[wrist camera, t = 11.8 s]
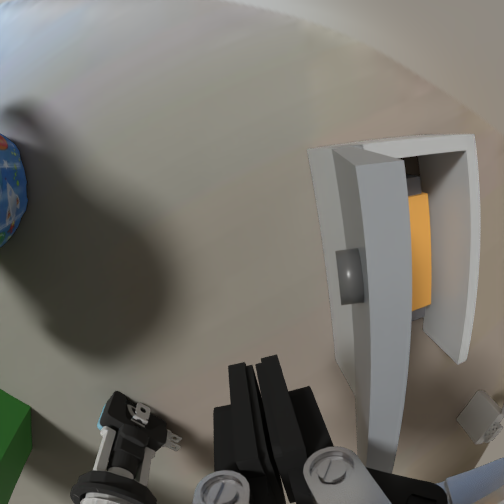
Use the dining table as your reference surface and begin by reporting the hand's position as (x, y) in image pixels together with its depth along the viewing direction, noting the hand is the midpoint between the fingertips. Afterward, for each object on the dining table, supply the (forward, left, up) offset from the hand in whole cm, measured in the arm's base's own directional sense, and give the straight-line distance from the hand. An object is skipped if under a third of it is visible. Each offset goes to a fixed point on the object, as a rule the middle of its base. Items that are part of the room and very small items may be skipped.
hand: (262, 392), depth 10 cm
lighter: (-19, -21, -10) cm, 30 cm away
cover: (0, -4, 0) cm, 4 cm away
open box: (0, -9, -9) cm, 13 cm away
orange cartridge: (0, -10, -9) cm, 14 cm away
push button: (-9, +10, -10) cm, 16 cm away
